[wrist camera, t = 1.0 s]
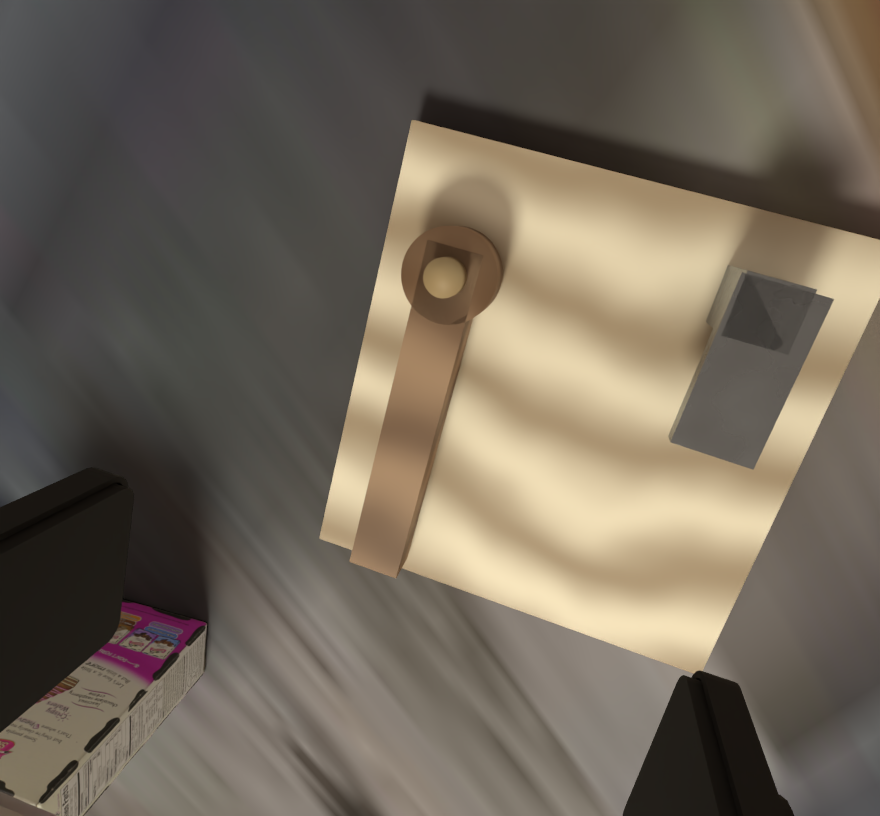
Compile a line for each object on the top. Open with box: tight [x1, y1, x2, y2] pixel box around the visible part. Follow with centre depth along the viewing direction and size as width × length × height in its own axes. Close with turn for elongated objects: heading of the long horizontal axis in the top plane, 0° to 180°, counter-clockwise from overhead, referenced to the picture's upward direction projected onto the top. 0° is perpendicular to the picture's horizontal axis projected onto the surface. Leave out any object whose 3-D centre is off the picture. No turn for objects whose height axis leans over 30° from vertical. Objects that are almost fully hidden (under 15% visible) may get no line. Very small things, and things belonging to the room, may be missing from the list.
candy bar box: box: [0, 599, 207, 816], centre depth 43 cm, size 11×5×16 cm, turn 82°
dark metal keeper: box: [668, 265, 834, 470], centre depth 32 cm, size 9×4×4 cm, turn 165°
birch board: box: [320, 120, 880, 673], centre depth 37 cm, size 26×25×2 cm
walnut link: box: [350, 226, 503, 578], centre depth 36 cm, size 20×5×4 cm, turn 165°
